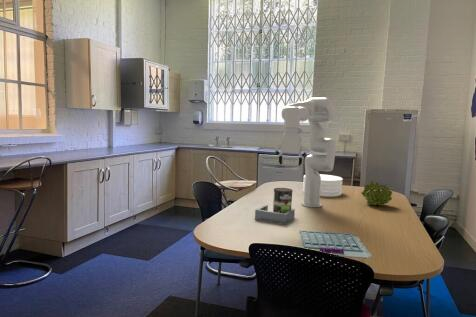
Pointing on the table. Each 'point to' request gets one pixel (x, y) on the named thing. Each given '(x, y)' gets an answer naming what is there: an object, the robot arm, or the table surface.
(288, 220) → the can holder bay
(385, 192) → the green bumpy round lump
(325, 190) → the plate stack
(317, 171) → the robot arm
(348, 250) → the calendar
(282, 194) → the coffee can
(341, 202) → the table surface
